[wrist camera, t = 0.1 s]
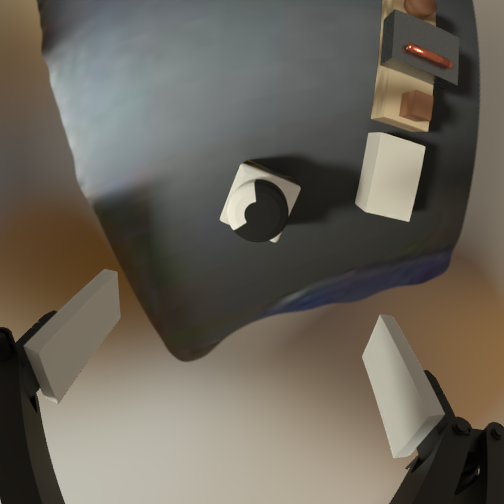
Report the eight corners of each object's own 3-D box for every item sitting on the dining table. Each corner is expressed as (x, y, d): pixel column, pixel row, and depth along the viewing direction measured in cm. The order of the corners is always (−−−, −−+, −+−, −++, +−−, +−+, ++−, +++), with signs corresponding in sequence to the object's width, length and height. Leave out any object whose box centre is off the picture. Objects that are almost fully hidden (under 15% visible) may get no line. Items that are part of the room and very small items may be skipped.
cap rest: (368, 132, 35) (381, 132, 31) (409, 145, 35) (425, 146, 31) (354, 203, 39) (365, 211, 34) (394, 212, 39) (409, 221, 34)
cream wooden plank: (382, 0, 27) (404, -25, 19) (420, 15, 27) (448, -4, 19) (370, 119, 35) (396, 114, 26) (411, 131, 35) (443, 132, 26)
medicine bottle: (296, 179, 39) (306, 195, 27) (276, 226, 41) (277, 260, 30) (246, 158, 38) (235, 166, 27) (227, 207, 41) (210, 234, 29)
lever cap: (383, 19, 25) (398, 5, 20) (443, 44, 25) (463, 35, 20) (379, 65, 28) (395, 55, 23) (441, 89, 28) (462, 84, 23)
